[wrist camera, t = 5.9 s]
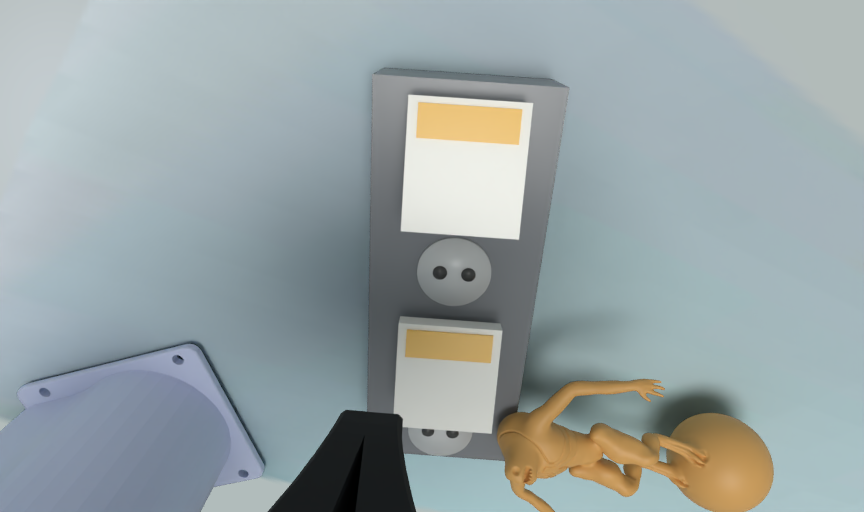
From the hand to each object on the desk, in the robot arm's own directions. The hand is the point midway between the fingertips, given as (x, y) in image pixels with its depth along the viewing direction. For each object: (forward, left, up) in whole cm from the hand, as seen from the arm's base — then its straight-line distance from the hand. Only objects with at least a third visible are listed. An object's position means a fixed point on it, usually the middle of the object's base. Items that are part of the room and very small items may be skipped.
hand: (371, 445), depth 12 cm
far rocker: (+1, -3, -7) cm, 7 cm away
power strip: (+2, -1, -10) cm, 11 cm away
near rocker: (+3, +4, -7) cm, 8 cm away
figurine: (+12, -12, -10) cm, 20 cm away
